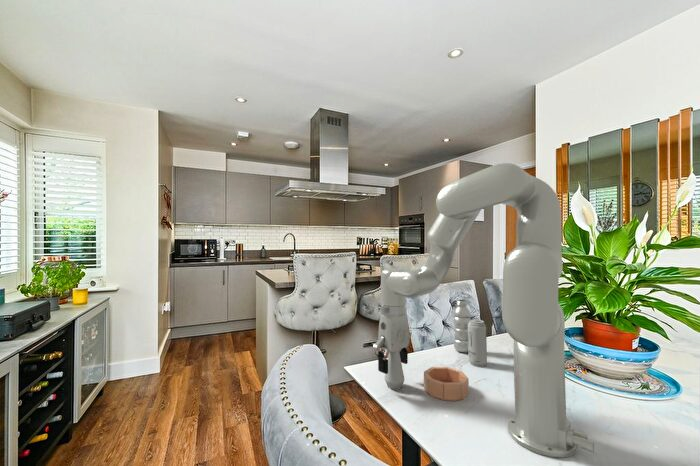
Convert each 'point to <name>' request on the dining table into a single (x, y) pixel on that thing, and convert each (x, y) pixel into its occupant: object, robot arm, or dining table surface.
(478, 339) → the energy drink can
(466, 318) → the plastic bottle
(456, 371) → the octagonal orange bowl
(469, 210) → the robot arm
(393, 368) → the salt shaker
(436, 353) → the dining table surface
